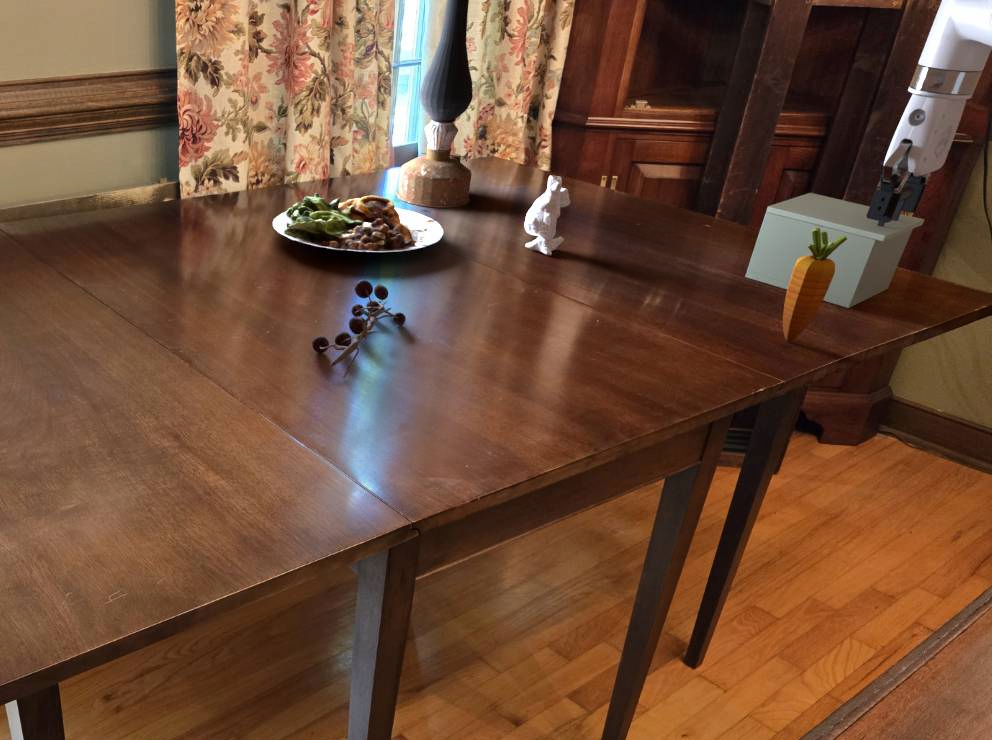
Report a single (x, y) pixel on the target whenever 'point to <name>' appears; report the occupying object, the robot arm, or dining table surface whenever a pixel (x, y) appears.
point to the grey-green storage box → (856, 260)
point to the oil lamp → (442, 120)
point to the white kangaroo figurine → (547, 216)
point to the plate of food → (357, 225)
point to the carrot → (809, 284)
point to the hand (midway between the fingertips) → (890, 214)
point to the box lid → (847, 215)
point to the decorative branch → (359, 322)
